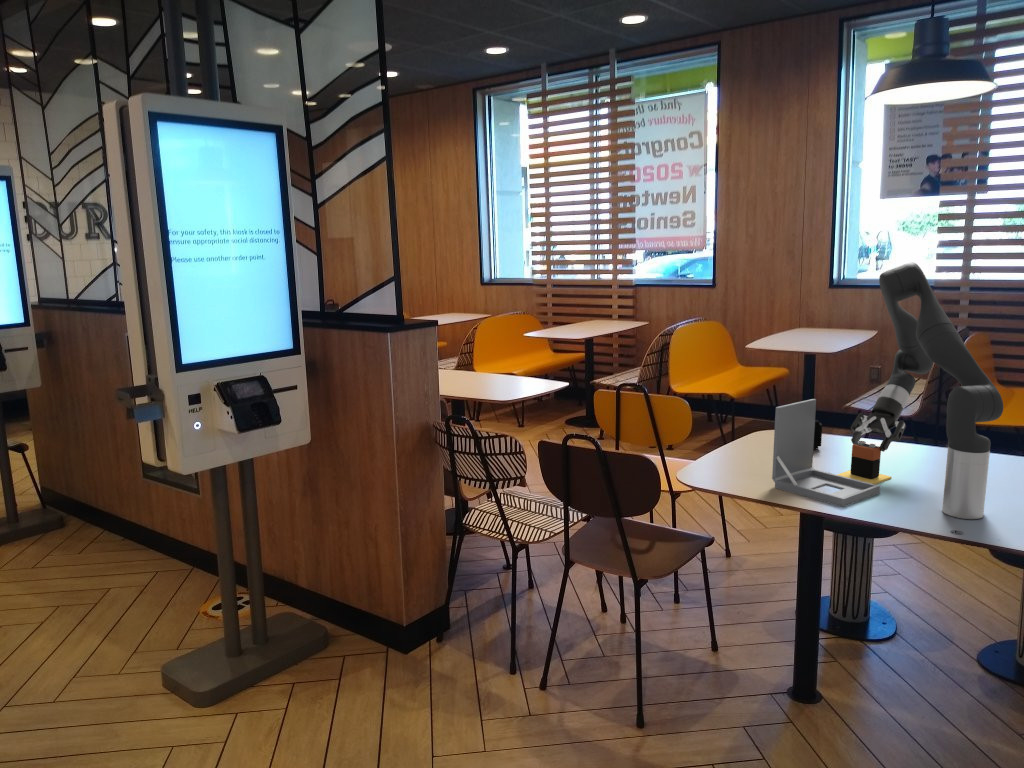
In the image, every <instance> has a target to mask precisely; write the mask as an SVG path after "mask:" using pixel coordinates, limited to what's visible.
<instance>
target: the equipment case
mask: <svg viewBox="0 0 1024 768" xmlns="http://www.w3.org/2000/svg"><path fill="white" fill-rule="evenodd" d="M816 409H817V398H811V399H807V400H802V401H801V400H800V401H797V402H793V403H789V404H785V405H780V406H776V407H775V417H774V434H773V436H774V437H773V455H772V474H771V479H772V481H773V483H774V488H775V489H779V490H781V491H785V492H790V493H792V494H796V495H800V496H803V497H806V498H811V499H813V500H817V501H821V502H824V503H826V504H827V503H828V504H831V505H835V506H837V507H841V508H844V507H847V506H850V505H852V504H855V503H857V502H861V501H863V500H866V499H869V498H871V497H873V496H876V495H879V494H881V493H880V492H881V485H879V484H871V483H867V482H863V481H859V480H855V479H851V478H847V477H843V476H839V475H837V474H835V473H830V472H827V471H823V470H819V469H814V467H813V463H814V462H813V460H814V459H813V458H814V448H813V446H814V429H815V420H816ZM824 486H829V487H831V488H832V487H833V488H837V489H838V490H836V491H834V492H831V493H828V492H825V491H821V490H817V489H818V488H819V487H820V488H821V487H824ZM840 488H841V489H840Z"/></svg>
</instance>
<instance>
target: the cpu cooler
mask: <svg viewBox="0 0 1024 768" xmlns="http://www.w3.org/2000/svg"><path fill="white" fill-rule="evenodd" d="M822 435H823V424H822V422H820V421H819V419H815V429H814V446H813V450H814V449H817V450H819V447H822V441H823V440H822V439H823V438H822V437H823V436H822Z"/></svg>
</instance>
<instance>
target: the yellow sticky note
mask: <svg viewBox="0 0 1024 768" xmlns="http://www.w3.org/2000/svg"><path fill="white" fill-rule="evenodd" d="M836 475H839V476H843V477H847V478H851V479H855V480H859V481H863V482H867V483H871V484H875V485H879V484H880V483H883V482H885V481H888V480H891V479H892V476H890V475H886V474H882V473H879V476H878V477H876V478H873V479H868V478H864V477H860V476H856V475H852V474H851V469H850V470H847V471H844V472H841V473H838V474H836Z"/></svg>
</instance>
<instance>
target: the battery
mask: <svg viewBox="0 0 1024 768" xmlns="http://www.w3.org/2000/svg"><path fill="white" fill-rule="evenodd" d="M879 447H880V445H879V446H878V445H876V443H869V444H868V443H866V441H864V440H859V441H858V443H857V444H854V445H853V444H852V447H851V462H850V470H851V474H852V475H856V476H860V477H864V478H868V479H873V478H876V477H878V476H879V474H880V466H881V452H882V451H881V450H880V448H879Z"/></svg>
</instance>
